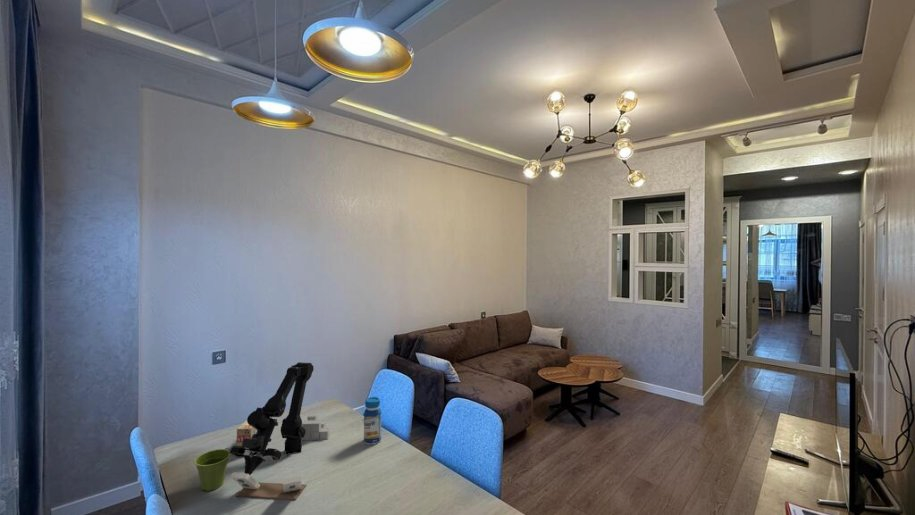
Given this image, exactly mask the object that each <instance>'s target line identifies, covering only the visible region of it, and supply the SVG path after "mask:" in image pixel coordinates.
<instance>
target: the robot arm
mask: <svg viewBox="0 0 915 515" xmlns="http://www.w3.org/2000/svg"><path fill="white" fill-rule="evenodd" d="M314 369H315V368H314V365H313V364H312V362H303V361H302V362H300V361H299V362H297V363H296V364H294V365H291V366H290V367H288V368H287V370H286V373H285V375H284V377H283V379H282V381H281V383H280V385H279V386H278V389H277V391H276V392H275V393H274V395H272V397H270V398H269V399H268V400H267V401H266V403H265V405H264V406H262V407H256V410H253V411H252V412H251V413H250V414H249V415H248V416H247V419H246V420H247V422H248V424H249V425H251V426H252V427H254V428H255V429H257V432H256V434H253V436H252V438H243V442H242V446H237V445H233V446H232V447H231V448H230V450H229V451H230V452H229V453H230V454H231V455H232V456H234V457H236V458H243V459H244V473H245V474H249V475H250V476H251V475H252V474H253V472H255V471H256V470H257V469H258V468H259V467H260V465H262V464H263V463H264V462H266V461H267V460H266V458H267V457H270V458H271V460H274V461H281V459H282V456H283V455H282V451H280V450H279V449H277V448H270V447H268V444H269V443H271V441H272V438H271V437H272V435H273V432H274V429H275V427H278V426H279V422H278V419H277V418H280V417H282V416H283V415H284V413H285V410H286V407H287V398H288V396H289V394H290V393H291V390H292V388H293V391H292V396H291V402H290V405H289V411H288V415H287V416H286V418H283V419H282V420H281V422H282V423H281V425H280V434H281V437H282V439H285V440H284V452H285V455H290V454H298V453H301V452H302V448H303V444H302V438H304V435H305V432H306V430H305V429H304V428H303V427H302V424H303V420H302V417H301V411H302V407H303V401H304V396H305V391H306V386H307V382H308V381H309V380H310V379H311V377H312V374H313V372H314ZM270 417H272V418H270ZM244 447H246V448H249V449H246V448H244ZM267 447H268V448H267ZM252 452H253V453H252Z"/></svg>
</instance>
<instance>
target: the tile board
mask: <svg viewBox="0 0 915 515" xmlns="http://www.w3.org/2000/svg"><path fill="white" fill-rule="evenodd" d="M257 482H258V483H259V484H260V487H259V489H248V488H241V490H240V491H238V492H237V493H236V495H235V498H250V499H251V498H252V499H269V500H271V499H272V500H287V501H288V500H289V501H296V500H297V499H298V498H299V496H300V495H301V494H302V492H303V491H304V490H305V489H306V487H307V484H301V489H298V490H294V491H290V492H285V493H284V490H283V483H278V482H259V481H257Z"/></svg>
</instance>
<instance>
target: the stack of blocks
mask: <svg viewBox="0 0 915 515" xmlns="http://www.w3.org/2000/svg"><path fill="white" fill-rule="evenodd" d="M270 418H272V419H273V417H270ZM256 432H257V429H255V428H254V427H252V426H251V425H249V424H248V422H247V419H246V420H245V421H244V422H242V423H241V424H240V425H239V426H238V427H237V428H236V446H242V442H243V438H252V436H253V434H256ZM244 448H246V447H244ZM246 449H249V448H246ZM252 453H253V452H252Z"/></svg>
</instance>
